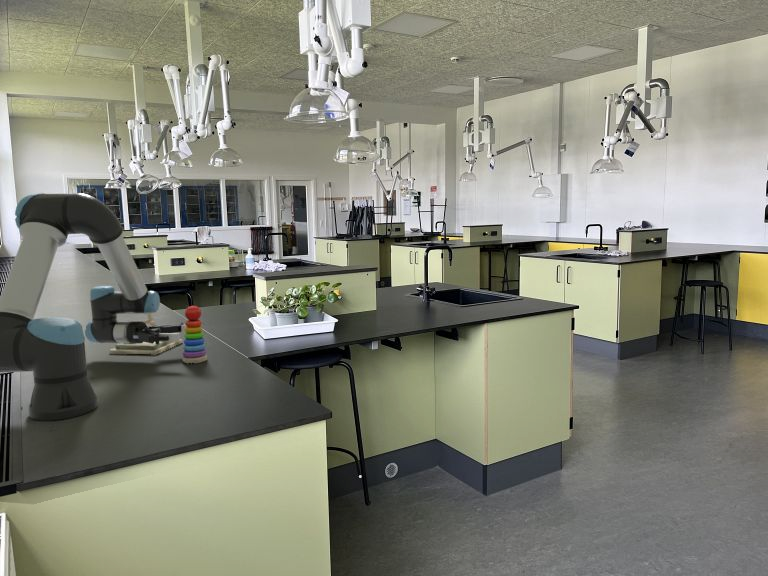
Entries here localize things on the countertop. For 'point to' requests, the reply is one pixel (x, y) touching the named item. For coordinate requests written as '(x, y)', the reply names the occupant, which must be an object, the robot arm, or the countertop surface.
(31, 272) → the robot arm
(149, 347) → the rimmed tray
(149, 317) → the beige animal figurine
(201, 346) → the stacking toy
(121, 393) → the countertop surface
